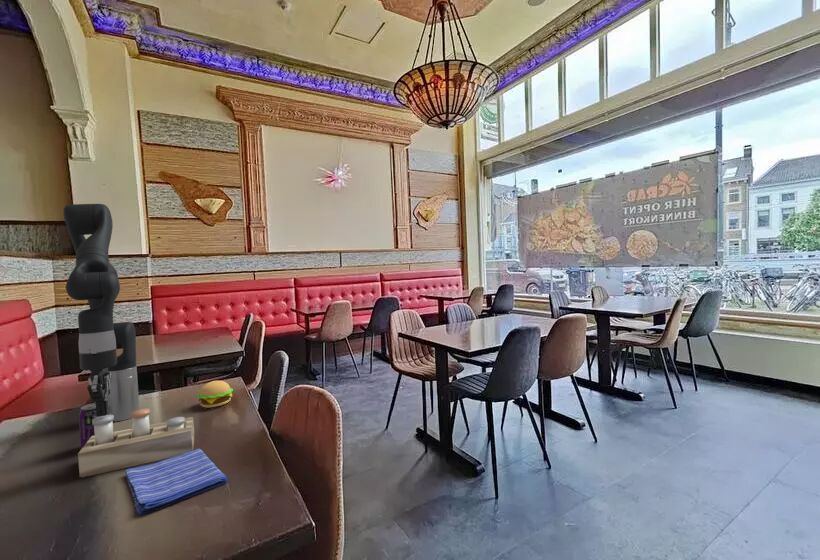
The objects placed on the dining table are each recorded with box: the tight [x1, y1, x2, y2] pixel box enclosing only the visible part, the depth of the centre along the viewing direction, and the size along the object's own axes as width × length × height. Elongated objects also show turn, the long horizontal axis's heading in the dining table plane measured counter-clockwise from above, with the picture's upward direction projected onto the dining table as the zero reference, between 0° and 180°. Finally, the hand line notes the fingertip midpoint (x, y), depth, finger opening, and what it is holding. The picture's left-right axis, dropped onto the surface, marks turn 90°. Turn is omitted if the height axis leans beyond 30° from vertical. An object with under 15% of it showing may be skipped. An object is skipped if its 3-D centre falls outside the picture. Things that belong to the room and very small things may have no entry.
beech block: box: [77, 416, 195, 478], centre depth 105 cm, size 12×24×6 cm, turn 117°
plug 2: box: [165, 416, 186, 431], centre depth 109 cm, size 4×4×8 cm
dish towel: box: [125, 448, 228, 516], centre depth 92 cm, size 17×24×3 cm
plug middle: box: [130, 408, 151, 438], centre depth 105 cm, size 4×4×8 cm
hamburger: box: [196, 380, 234, 408], centre depth 145 cm, size 12×12×9 cm
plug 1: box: [92, 415, 114, 446], centre depth 101 cm, size 4×4×8 cm
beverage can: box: [78, 402, 111, 450], centre depth 113 cm, size 7×7×12 cm
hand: (102, 415), depth 101 cm, fingers closed
